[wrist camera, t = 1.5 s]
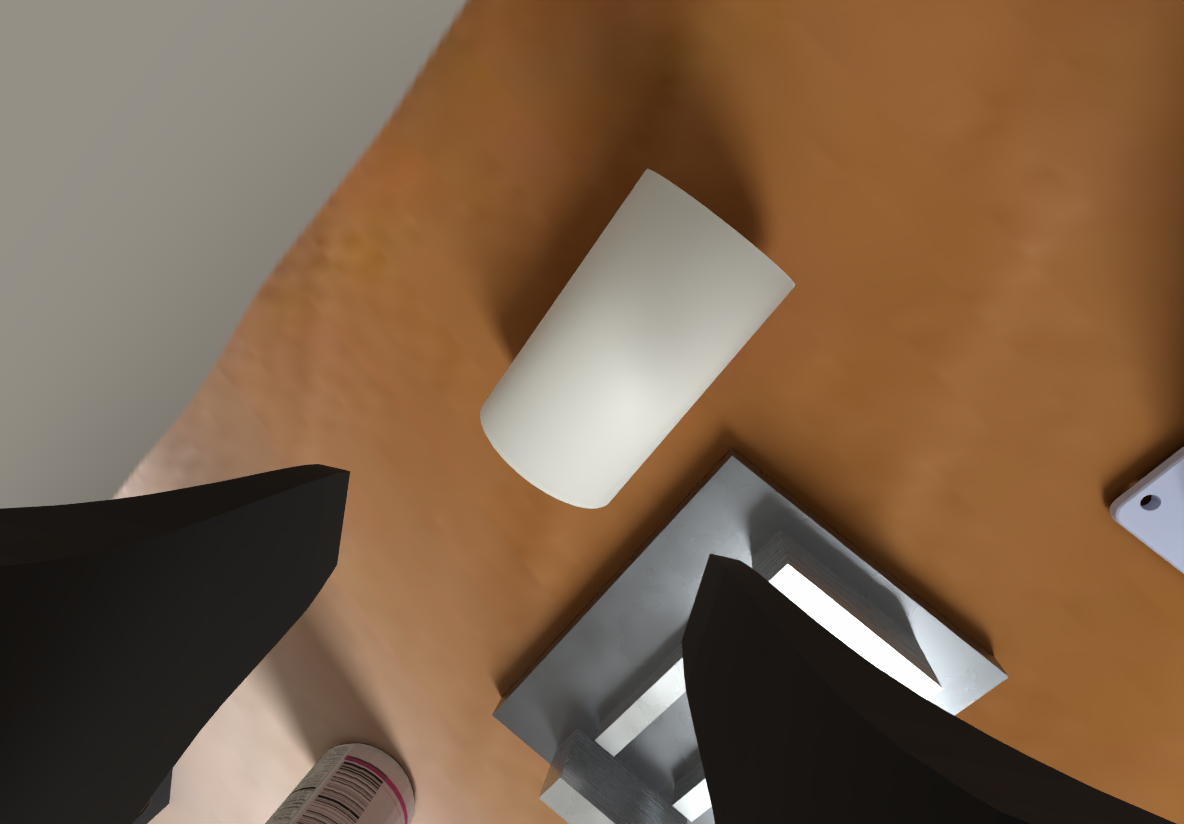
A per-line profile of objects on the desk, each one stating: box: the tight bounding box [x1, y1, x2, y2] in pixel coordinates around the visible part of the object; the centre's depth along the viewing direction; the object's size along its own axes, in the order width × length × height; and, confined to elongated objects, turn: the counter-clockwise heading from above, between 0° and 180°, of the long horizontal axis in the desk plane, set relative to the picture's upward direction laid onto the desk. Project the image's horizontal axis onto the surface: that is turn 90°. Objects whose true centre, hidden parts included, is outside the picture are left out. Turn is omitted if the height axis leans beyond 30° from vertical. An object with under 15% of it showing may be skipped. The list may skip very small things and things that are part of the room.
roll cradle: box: [493, 448, 1008, 824], centre depth 21 cm, size 16×12×4 cm
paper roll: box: [480, 169, 795, 509], centre depth 17 cm, size 9×6×6 cm, turn 143°
